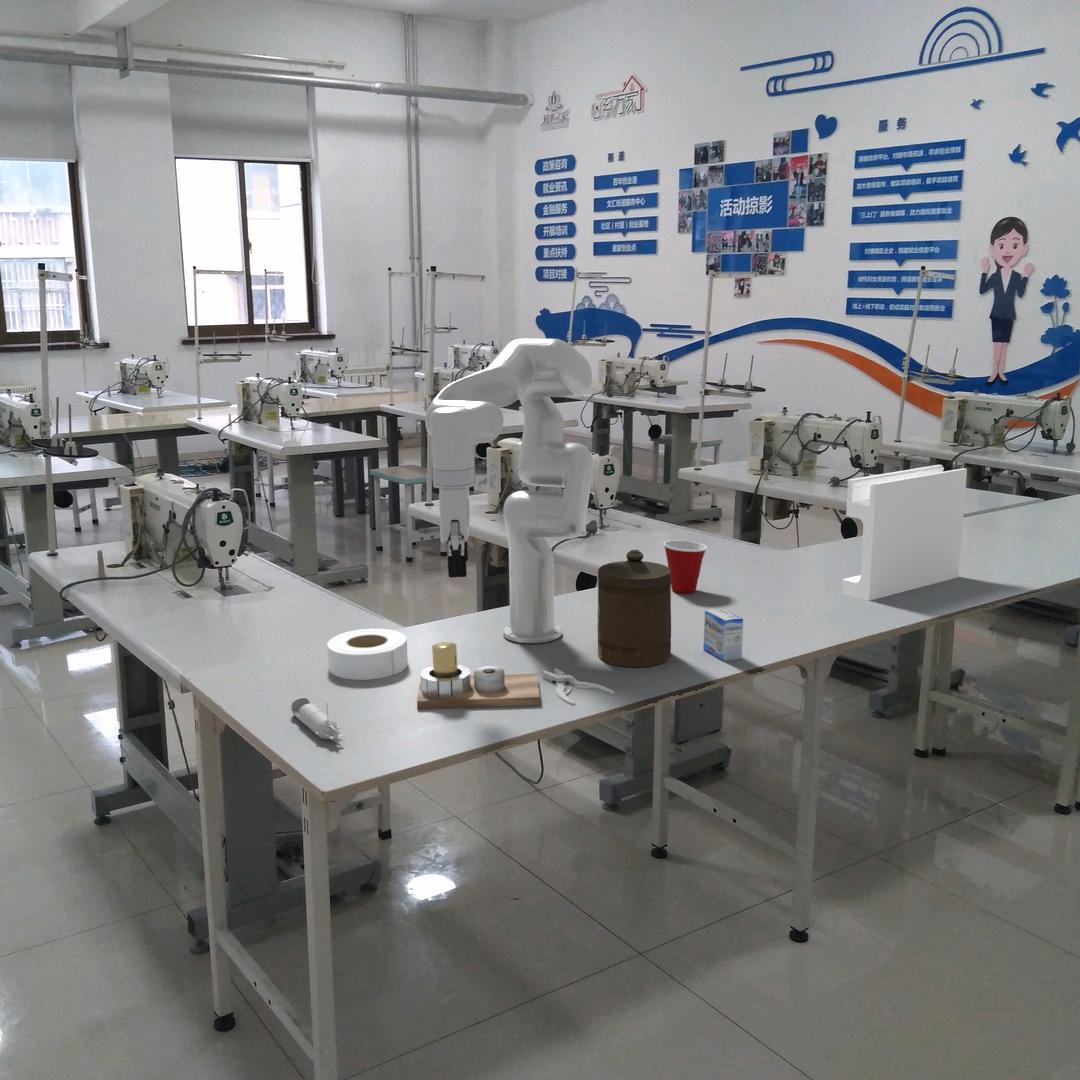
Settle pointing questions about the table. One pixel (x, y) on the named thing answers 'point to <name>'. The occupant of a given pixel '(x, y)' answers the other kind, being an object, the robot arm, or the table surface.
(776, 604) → the table surface
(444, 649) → the brass peg
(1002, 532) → the table surface
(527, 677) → the fitting board
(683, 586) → the plastic cup
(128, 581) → the table surface
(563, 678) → the pliers
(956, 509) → the block
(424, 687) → the ring
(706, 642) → the medicine box
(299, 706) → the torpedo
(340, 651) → the roll of tape
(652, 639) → the wooden container
